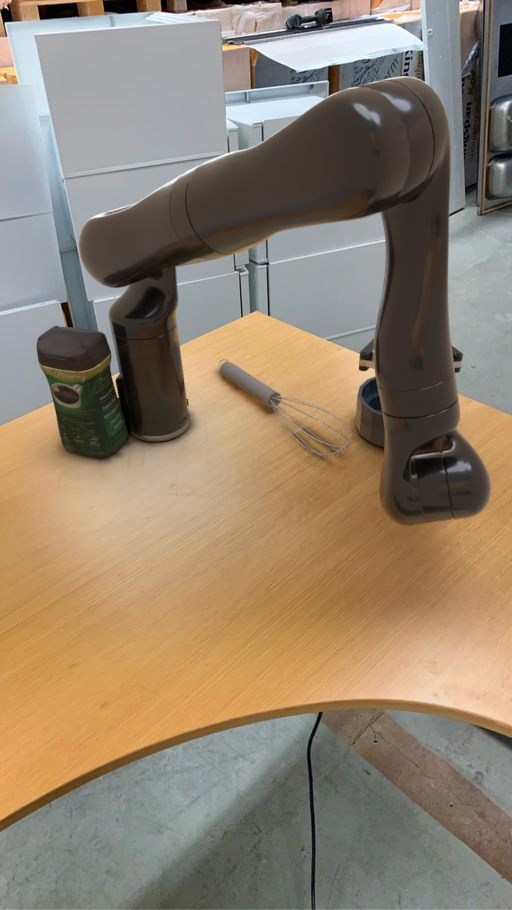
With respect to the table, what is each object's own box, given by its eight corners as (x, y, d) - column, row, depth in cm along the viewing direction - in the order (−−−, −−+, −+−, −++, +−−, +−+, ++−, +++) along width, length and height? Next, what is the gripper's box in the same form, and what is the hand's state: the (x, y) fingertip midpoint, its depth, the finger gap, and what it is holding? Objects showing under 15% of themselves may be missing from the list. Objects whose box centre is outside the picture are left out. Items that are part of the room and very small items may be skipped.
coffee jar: (136, 433, 101) (115, 324, 89) (109, 464, 95) (83, 351, 84) (84, 422, 104) (57, 315, 93) (54, 451, 98) (21, 340, 87)
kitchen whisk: (234, 364, 116) (231, 332, 112) (359, 459, 94) (362, 423, 90) (204, 375, 114) (201, 342, 110) (326, 475, 91) (327, 439, 87)
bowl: (351, 447, 96) (352, 413, 92) (361, 402, 105) (363, 369, 101) (436, 457, 93) (442, 422, 90) (439, 409, 102) (444, 376, 99)
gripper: (482, 369, 75) (458, 303, 88) (359, 367, 76) (355, 302, 90) (471, 423, 79) (450, 352, 93) (355, 420, 81) (352, 351, 94)
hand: (403, 328), depth 91 cm, fingers closed
